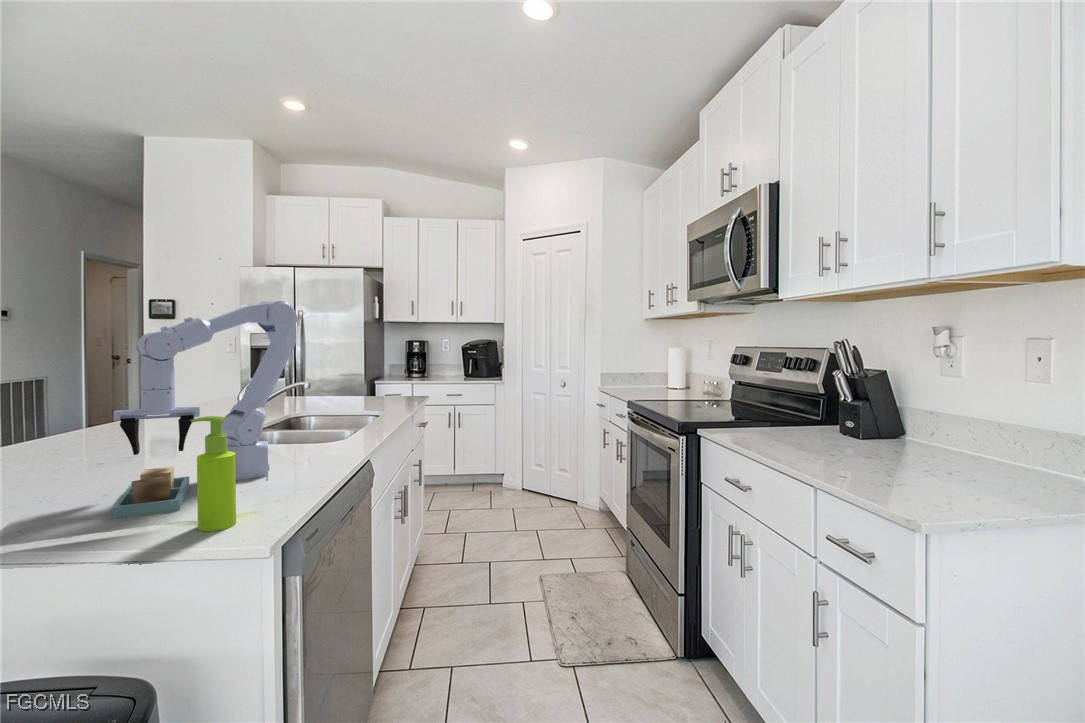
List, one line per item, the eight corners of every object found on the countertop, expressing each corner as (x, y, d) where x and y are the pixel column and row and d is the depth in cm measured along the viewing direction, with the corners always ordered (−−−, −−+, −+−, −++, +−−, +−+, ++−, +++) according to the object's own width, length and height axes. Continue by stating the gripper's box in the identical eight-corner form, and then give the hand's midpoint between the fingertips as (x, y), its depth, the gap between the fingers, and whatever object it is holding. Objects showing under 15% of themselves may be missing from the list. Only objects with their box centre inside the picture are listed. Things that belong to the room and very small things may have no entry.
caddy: (189, 489, 113) (189, 476, 112) (179, 515, 97) (179, 499, 97) (132, 496, 108) (131, 482, 107) (112, 523, 92) (112, 507, 92)
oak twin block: (174, 489, 109) (173, 466, 109) (171, 496, 105) (170, 472, 105) (145, 492, 107) (144, 469, 107) (140, 499, 103) (140, 475, 102)
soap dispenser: (203, 519, 95) (202, 414, 94) (242, 519, 96) (241, 414, 95) (184, 531, 89) (182, 419, 88) (225, 531, 90) (224, 419, 89)
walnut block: (163, 500, 102) (162, 476, 102) (170, 506, 99) (169, 481, 99) (132, 506, 98) (131, 481, 98) (138, 512, 95) (137, 486, 95)
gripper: (200, 385, 114) (201, 445, 115) (118, 388, 107) (119, 451, 108) (198, 388, 108) (199, 451, 109) (110, 391, 101) (112, 458, 102)
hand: (159, 452), depth 108 cm, fingers open, 7 cm apart
